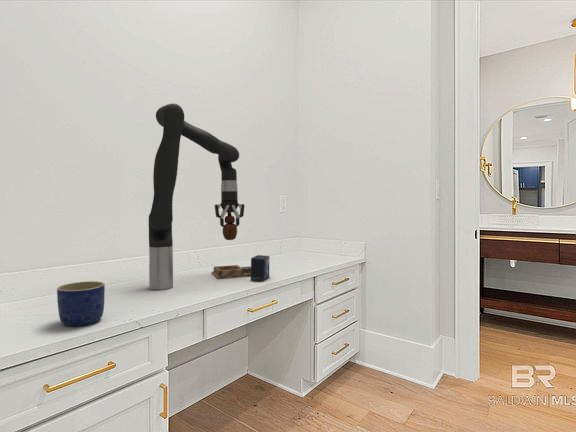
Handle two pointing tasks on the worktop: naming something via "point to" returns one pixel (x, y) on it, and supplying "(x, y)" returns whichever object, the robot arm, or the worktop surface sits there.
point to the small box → (260, 268)
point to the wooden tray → (231, 271)
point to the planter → (81, 302)
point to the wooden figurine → (229, 227)
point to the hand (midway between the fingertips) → (229, 226)
